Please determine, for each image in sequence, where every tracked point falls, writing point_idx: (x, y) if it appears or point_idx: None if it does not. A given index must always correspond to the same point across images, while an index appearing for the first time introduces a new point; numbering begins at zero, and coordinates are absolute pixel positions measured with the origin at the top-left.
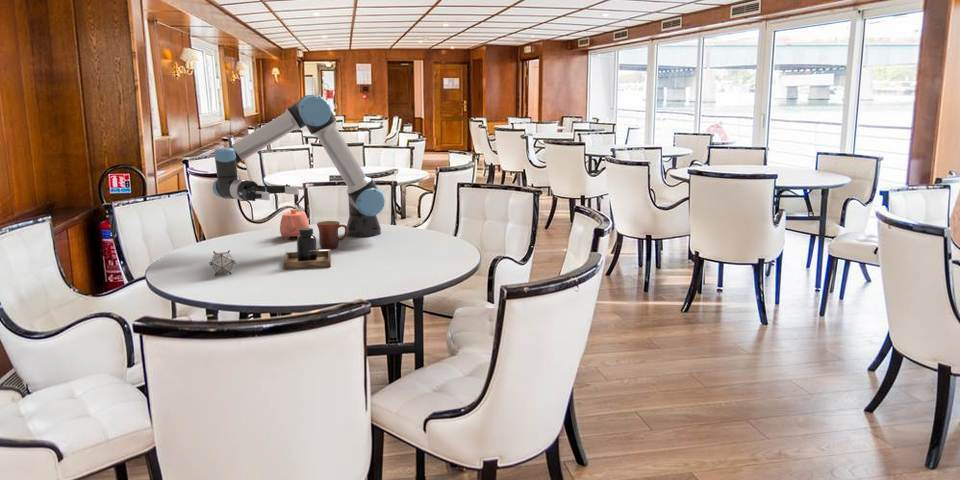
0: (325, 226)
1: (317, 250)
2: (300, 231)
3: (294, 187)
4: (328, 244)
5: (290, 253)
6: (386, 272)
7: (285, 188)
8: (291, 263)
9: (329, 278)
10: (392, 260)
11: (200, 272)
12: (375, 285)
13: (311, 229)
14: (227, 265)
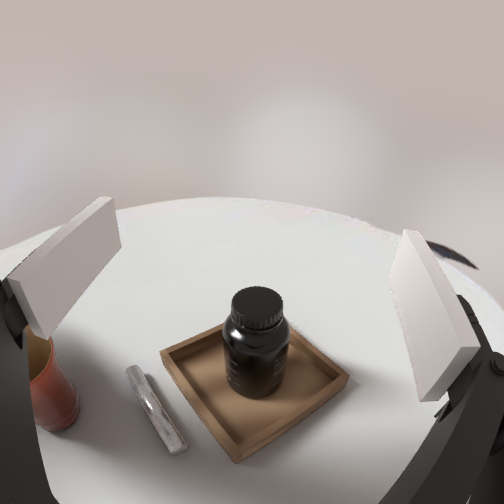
0: (54, 354)
1: (150, 394)
2: (282, 311)
3: (100, 209)
4: (75, 391)
5: (233, 441)
6: (250, 241)
7: (34, 291)
8: (333, 364)
9: (334, 281)
10: (166, 259)
11: None
12: (319, 231)
13: (254, 286)
14: None
